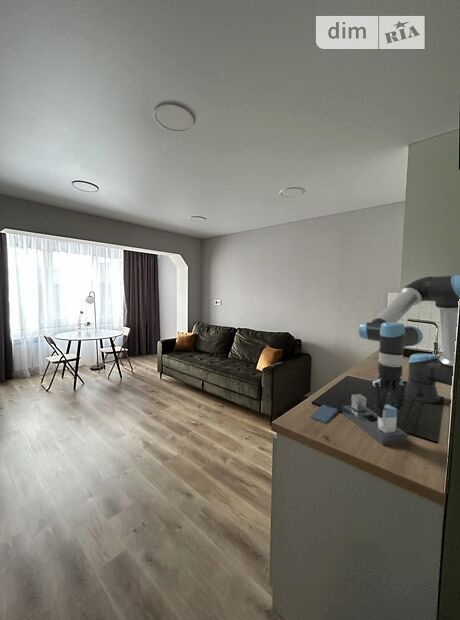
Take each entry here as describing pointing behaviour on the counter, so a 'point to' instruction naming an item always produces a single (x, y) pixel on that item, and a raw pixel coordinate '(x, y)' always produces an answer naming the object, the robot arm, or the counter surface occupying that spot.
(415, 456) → the counter surface
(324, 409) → the smartphone
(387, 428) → the plug
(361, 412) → the slotted peg board
